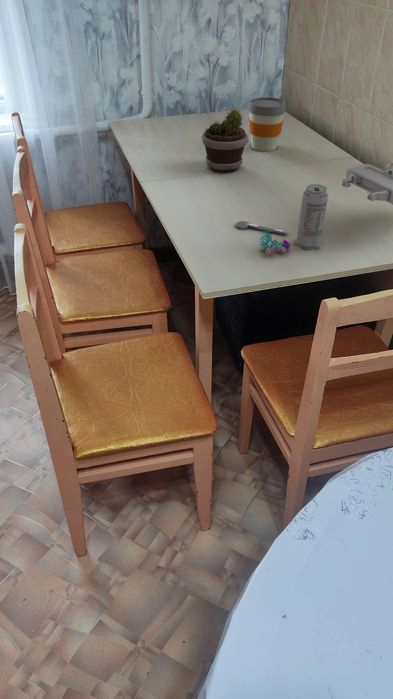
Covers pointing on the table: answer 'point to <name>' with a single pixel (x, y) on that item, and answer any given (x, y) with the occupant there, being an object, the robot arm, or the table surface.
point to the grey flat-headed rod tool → (258, 227)
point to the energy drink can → (312, 216)
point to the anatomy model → (268, 249)
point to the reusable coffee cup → (265, 122)
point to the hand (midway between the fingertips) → (356, 190)
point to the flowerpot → (225, 143)
